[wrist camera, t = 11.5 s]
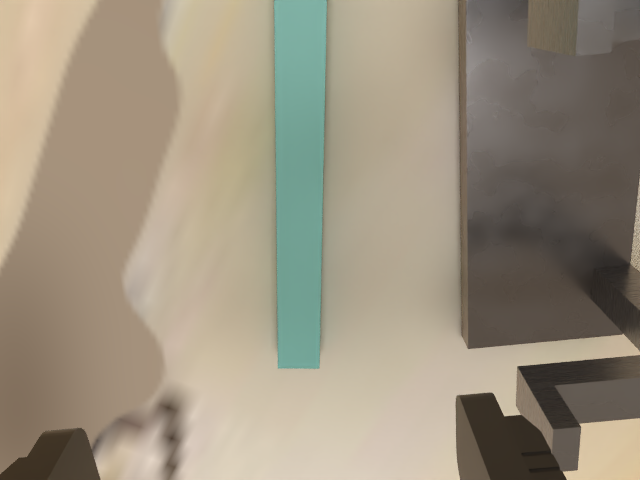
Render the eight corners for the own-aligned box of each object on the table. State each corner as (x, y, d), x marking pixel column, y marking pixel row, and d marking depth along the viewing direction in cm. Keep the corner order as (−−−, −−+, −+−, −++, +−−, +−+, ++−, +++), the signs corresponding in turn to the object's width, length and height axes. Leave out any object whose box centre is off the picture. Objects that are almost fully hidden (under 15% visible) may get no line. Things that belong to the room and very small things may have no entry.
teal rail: (326, -49, 29) (327, -53, 26) (318, 346, 37) (319, 368, 35) (276, -50, 29) (273, -54, 26) (279, 346, 37) (278, 368, 34)
